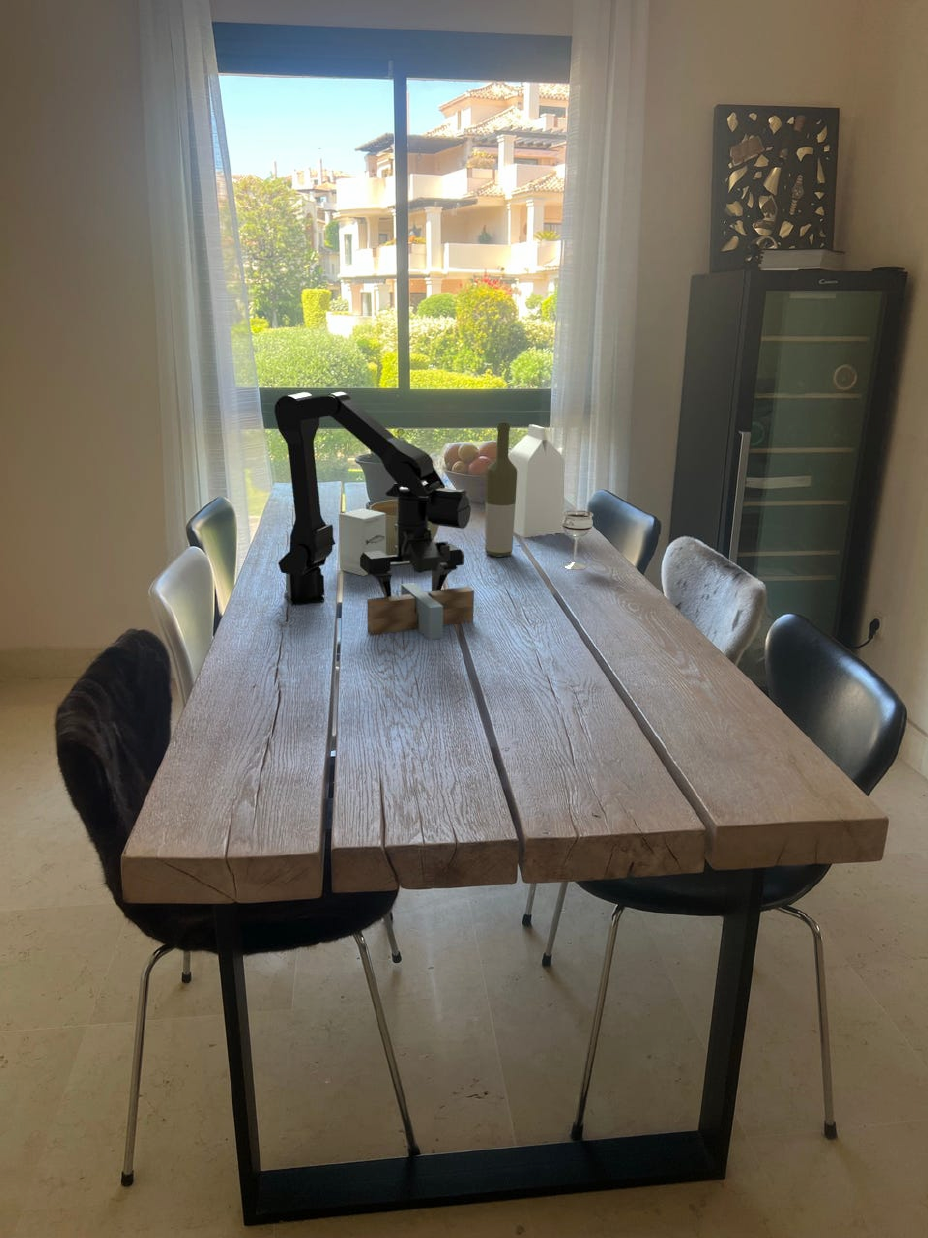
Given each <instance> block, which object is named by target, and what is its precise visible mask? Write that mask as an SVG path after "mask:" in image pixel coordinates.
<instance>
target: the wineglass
mask: <svg viewBox="0 0 928 1238" xmlns="http://www.w3.org/2000/svg"><path fill="white" fill-rule="evenodd" d="M563 514H564V518H563V520H562V526H563V529H564V532H566V534H568V535H569V536H571V537H572V538H573V539H574V542H573V543H574V547H573V548H574V550H573V551H574V554H573V562H566V563H564V564H563V565H564V566H563V567H564V568H567V569H569V570H584V569H585V568H586V567H587V566H586V565H585V564H583V563H580V562H576V561H577V552H578V542H579V539H581V538H582V537H584V536H586V535H587V534H589V532H591V530H592V528H593V526H594V525H593V524H594V522H593V519H592V517H594V514H593V512H591V511H588V510H587V511H586V510H581V509H570V510H569V509H568V510H564V512H563Z"/></svg>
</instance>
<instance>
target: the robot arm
mask: <svg viewBox="0 0 928 1238" xmlns="http://www.w3.org/2000/svg"><path fill="white" fill-rule="evenodd" d="M273 411H274V412H273V413H274V417H275V421H276V425H277V428H278V432H279V433H280V435H281V436H282V437H283V439H284V441H285V443H286V445H287V451H288V452H287V453H288V463H289V471H290V481H291V489H292V491H291V492H292V498H293V507H294V523H293V526H292V528H291V532H290V535H289V551H288V552H287V553H286V554H285V555H284V556H283V557H282V558H281V559H280V560H279V561H278V567H279V569H280V572H281V574H285V579H286V592H284V596H285V598H286V599H287V600H288V602H290V604H291V605H301V604H310V603H318V602H324V601H325V597H324V595H325V577H324V575H323V574H322V571H321V570H322V569H321V568H320V567H321V566H324V565H325V563H326V561H327V560H326V559H327V558H328V557H329V556H330V555H331V554H332V552H333V550H334V549H333V547H334V546H335V545H336V541H335V539H334V525H333V524H331V523H330V524H326V523H325V520H324V519H323V517H322V514H321V506H320V495H319V494H320V493H319V485H318V484H319V483H318V473H317V463H316V453H315V451H316V450H315V444H314V443H315V439H316V436H317V432H318V430H319V425H320V418H324V417H330V418H333V420H334V421H336V422H337V423H338V424H340V425H341V426H342V428H344V429H345V430H346V431H347V432H348V433H350V434H351V435H352V436H354V438H356V439H357V440H358V441H360V443H362V444H363V445H364V446H365V447H366V448H367V449H369V450H370V452H372V453H374V454H375V455H376V456H377V458H378V459H379V460H380V462H381V464H382V465H383V469H384V470H385V472H386V473H387V474H388V475H389V476H390V477H391V478H392V480H393V481H394V482H395V483H394V484H393V486H392V487H391V488H390V489H389V490H388V491H387V490H386V492H385V496H386V497H393V498H396V500H397V524H395V530H396V531H397V546H395V552H397V555H390V556H388V555H385V554H384V553H383V552H382V551H372V552H363V554H362V555H361V557H360V567H361V568H362V569H363V570H365V571H366V572H367V573H368V574H367V575H370V576H372V577H374V578H375V579H376V581H377V582H378V584H379V587H380V590H381V593H382V595H383V597H389V596H392V587H391V584H392V583H391V580H392V576H393V574H392V573H390V572H389V571H390V570H391V568H392V566H393V567H394V566H403V565H411V567H412V569H413V571H414V572H416V573H418V574H421V573H424V572H431V591H437V590H442V587H443V585H444V583H445V581H446V578H447V577H448V575H449V574H450V573H452V571H454V570H457V569H458V566H463V565H465V554H464V551H463V550H462V549H461V548H459V547H458V546H457V545H455V544H453V543H451V542H450V543H449V541H439V542H437V541H436V542H435V541H434V540H433V541H432V537H431V530H430V529H429V528H428V522H431V523H432V524H433V525H437V526H439V527H447V528H454V529H461V530H464V529H465V528H466V527H467V526H468V524H469V522H470V518H471V510H472V509H471V508H472V507H471V505H470V500H469V497H467V495H466V494H467V491H466V489H461V488H460V489H451V488H449V489H448V488H446V485H445V482H443V480H442V478H441V477H440V475H439V474H438V472H437V470H436V469H435V466H434V460H433V459H432V457H431V455H430V454H429V453H427V452H426V451H424V450H423V449H421V448H419V447H418V446H416V445H415V444H411V443H410V442H407V441H404V440H401V439H399V438H398V437H396V436H395V435H393V434H392V433H391V432H390V431H389V430H388V429H386V427H384V426H383V425H382V424H380V423H379V422H378V421H377V420H376V419H374V418H373V416H371V415H370V414H369V413H368V412H366V411H365V410H364V409H363V408H361V406H360V405H358V404H357V403H356V402H355V401H353V400H352V399H351V397H350V396H349V394H348V393H346V392H344V391H337V392H333V393H327V394H323V395H322V394H321V395H316V396H314V395H313V394H311V393H310V392H307V391H303V392H298V393H293V394H288V395H282V396H281V397H279V399H277V401H276V402H275V403H274V410H273ZM424 482H426V483H425V484H423V483H424Z"/></svg>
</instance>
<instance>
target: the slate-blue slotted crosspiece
mask: <svg viewBox="0 0 928 1238" xmlns="http://www.w3.org/2000/svg"><path fill="white" fill-rule="evenodd" d="M400 586H401V587H400V588H401V589H400V590H401V591H400V595H405V594H410V595H412V596H413V597H414V598H415V612H416V613H418V614H419V629H418V631H419V632H420V633H421V634H422V635H424V637H426V639H428V640H430V641H431V640H437V639H443V629H444V628H443V626H444V625H443V606H442V605H441V604H439V603H438V602H437V601H436V600H434V599H433V598H432V597H431V596H429V595H428V592H426V591H425V590H423V589H422V588H420V586H419V585H417V584H416V583H415V582H409V583H401V585H400Z"/></svg>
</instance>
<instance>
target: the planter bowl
mask: <svg viewBox="0 0 928 1238" xmlns="http://www.w3.org/2000/svg"><path fill="white" fill-rule="evenodd" d="M369 510H373V511H378V512H382V513H386V555H387V556H390V555H397V552H395V546H397V531H396V530H395V524H397V499H391V500H384V501H378V502H375V503H373V504H371V505H370V506H369ZM439 527H440V526H437V525H433V524H432V523H431V522H428V528H429V529H430V530H431V537H432V541H433V542H434V539H435V537H436V535H437V532H438V530H439Z"/></svg>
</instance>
